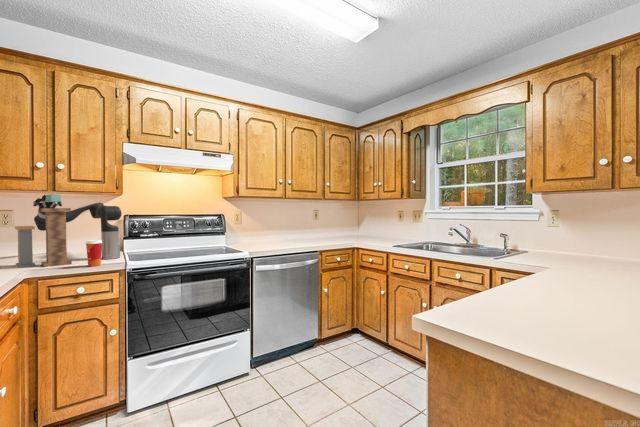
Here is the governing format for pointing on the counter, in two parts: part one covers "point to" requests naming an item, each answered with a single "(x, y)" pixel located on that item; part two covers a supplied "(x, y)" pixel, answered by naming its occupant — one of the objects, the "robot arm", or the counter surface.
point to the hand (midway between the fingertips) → (50, 196)
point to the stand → (56, 236)
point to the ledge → (25, 246)
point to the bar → (53, 198)
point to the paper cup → (94, 252)
